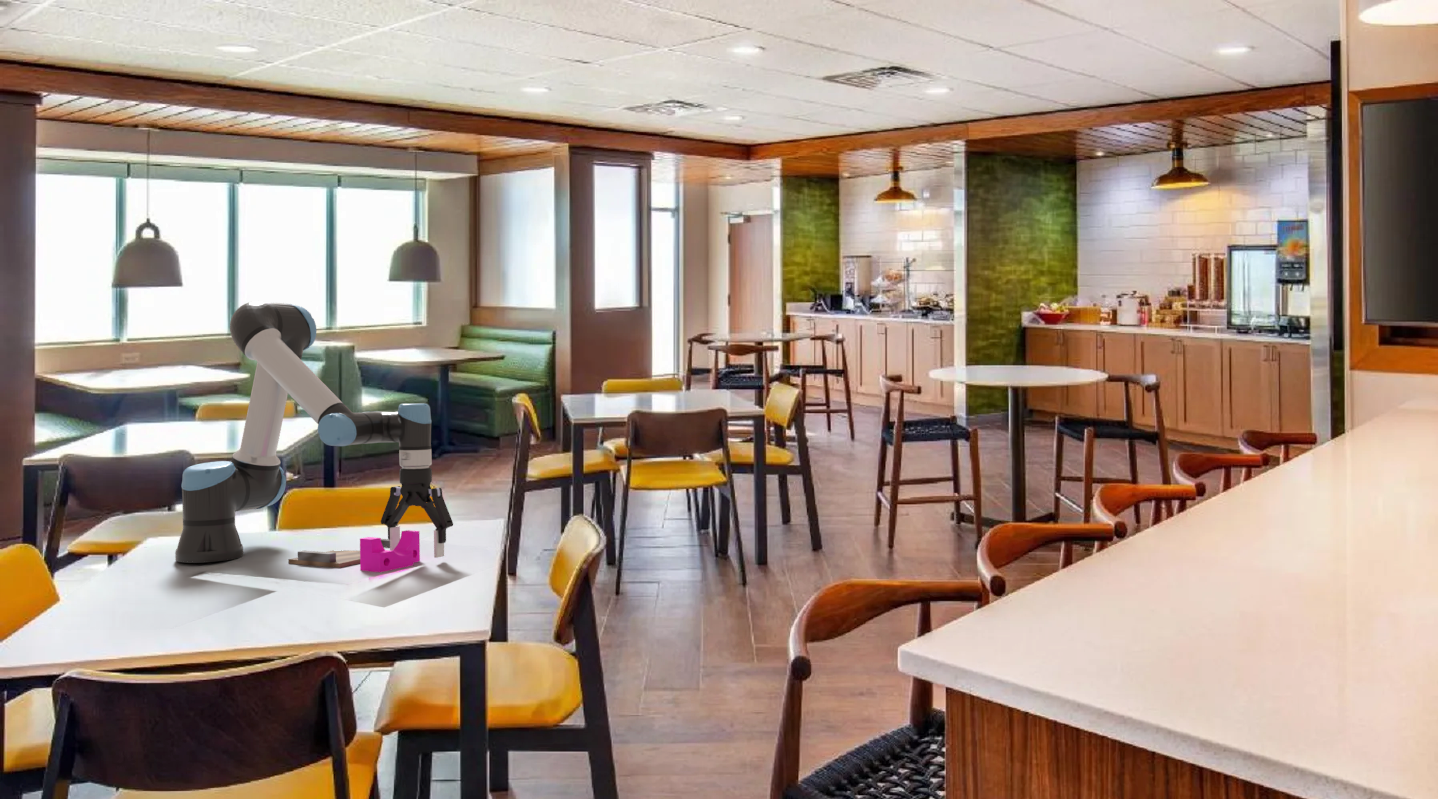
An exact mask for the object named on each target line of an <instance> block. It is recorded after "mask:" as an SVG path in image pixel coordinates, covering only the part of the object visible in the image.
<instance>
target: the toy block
mask: <svg viewBox="0 0 1438 799" xmlns="http://www.w3.org/2000/svg"><path fill="white" fill-rule="evenodd" d="M381 539H382V538H381V537H375V536H374V537H373V536H372V537H371V536H367V537H363V538H362V537H361V538H359V551H360V563H359V565H360V566H359V567H360V568H359V570H360V571H363V572H373V573H383V572H387V571H392V570H397V569H401V568H403V569H404V568H408V567H412V566H414V564H415V563H419V562H418V561H420V562H421V560H420V559H421V558H420V557H421V554H420V553H421V552H420V551H421V548H420V546H421V545H420V540H421V539H420V530H411V529H406V530H401V532H400V541H399V543H398V545H397V546H396V547H395V549H394V550H392V551H390V549H389V550H388V549H387V550H386V549H385V548H384V547H385V546H383V545H382V543H381Z"/></svg>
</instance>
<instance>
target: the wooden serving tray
mask: <svg viewBox="0 0 1438 799" xmlns="http://www.w3.org/2000/svg"><path fill="white" fill-rule="evenodd" d="M381 543H382V545H383V547H385V546H387V547H388V548H390V540H389V539H388V538H381ZM288 564H291V565H303V566H313V567H324V568H325V567H328V568H338V569H341V568H345V567H349V566H350V567H351V566H353V565H360V550H343V551H342V550H341V551H334V550H328V551H315V550H314V551H313V550H299V551H297V557H294V558H289V559H288Z"/></svg>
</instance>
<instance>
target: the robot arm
mask: <svg viewBox="0 0 1438 799" xmlns="http://www.w3.org/2000/svg"><path fill="white" fill-rule="evenodd" d="M229 331H230V336H231V339H232V340H233V343H234V344H235V346H236V347H237V348H238V350H240V352H241V353H242V354H243V355H244V356H245V357H246V358H247V359H249V360H250V361H256V362H257V363H256V368H255V372H254V377H253V383H252V388H251V392H250V393H251V394H250V397H249V403H248V407H247V414H246V418H245V423H244V428H243V432H242V438H241V444H240V449H238V450H237V451H235V452H234V453H232V456H231V460H230V461H226V460H219V461H210V462H202V463H198V464H193V465H191V466H188V467H186V468H185V469H184V470H183V471H182V479H181V480H182V481H181V496H182V499H181V500H182V502H181V503H182V531H181V533H180V537H179V540H178V544H177V548H176V549H175V553H174V554H175V556H174V557H175V561H176V562H177V563H178V562H179V563H188V564H189V563H193V564H195V563H199V564H200V563H213V562H222V561H223V562H225V561H230V560H235V559H239V558H242V557H243V556H244V546H243V544H242V541H241V538H240V535H239V532H238V529H237V528H236V512H242V511H249V510H260V509H263V508H265V507H269V506H272V505H274V504H276V503H277V502H278V501H279V500H280V499H281V497H282V496H283V494H284V492H285V489H286V486H287V477H286V475H284V474H285V470H283V468H282V467H281V460H280V458H279V457H278V456H277V449H278V446H279V440H280V434H281V431H282V425H283V419H284V416H285V410H286V406H287V405H286V404H287V400H288V396H290V397H291V399H293V400H294V401H295V402H296V403H297V404H298V405H299V407H301V408H302V410H304V411H305V413H307V415H308V416H310V417H311V419H312V420H313V421H314V422H315V423H316V424H317V433H318V436H319V439H320V441H321V442H323V443H324V444H325V445H326V446H330V447H331V446H332V447H334V446H336V447H346V446H352V445H363V444H364V445H368V444H377V443H398V448H399V449H398V450H399V451H398V452H399V453H398V455H399V457H398V458H399V466H400V467H401V468H400V469H399V483H400V485H401V486H400V485H397V486H391V487H390V488H389V489H390V491H389V497H388V501H387V502H386V505H385V509H384V511H383V514H382V516H381V519H380V524H381V525H384V526H386V527H387V539H389V540H390V547H389V551H392V550H394V549H395V547H396V546H397V545H398V543H399V541H400V538H401V526H400V525H399V522H400V521H401V519H402V518H403V516H404V515H405V514H406V512H407V510H408V509H409V507H412V506H415V507H421V509H423V510H424V511H425V513H426V515H427V516H428V518H429V520H431V522H432V523H433V525H434V526H435V529H434V530H433V549H434V550H433V557H434V558H441V557H445V543H446V542H447V529H448V528H450V527H453V526H454V522H453V520H452V517H451V515H450V512H449V510H448V507H447V504H446V502H445V498H444V497H443V489H442V487H434V488H432V487H431V483H432V481H433V476H432V475H433V472H432V471H433V470H432V468H431V467H430V466H432V465H433V461H432V458H433V457H432V454H433V453H432V444H431V443H432V422H433V421H432V416H431V406H430V404H428V403H423V402H422V403H421V402H420V403H400V404H399V405H398V409H397V411H378V410H375V411H374V410H372V411H371V410H368V411H363V412H353V411H351V409H349V407H348V406H347V405H346V404H344V402H342V401H341V400H340V398H339V397H338V396H337V395H336V394H335V393H334V392H333V391H331V389H330V388H329V387H328V386H327V385H326V384H325V383H324V382H323V381H322V380H321V379H320V378H319V377H318V376H317V375H316V374H315V373H314V372H313V370H312V369H310V367H308V366H307V365H306V364H305V363H304V362H303V361H302V359H303V358H302V357H303V353H304V351H306V350H307V349H309V348H311V346H313V344H314V342H315V340H316V337H317V325H316V322H315V319H314V318H313V316H312V314H311V312H309V311H308V309H306V308H304V307H303V306H300V305H296V304H291V303H286V302H285V303H284V302H283V303H282V302H266V301H259V300H258V301H249V302H247V303H244V304H242V305H241V306H240V307H238V308H237V309H236V310H235V312H234V313H233V314H232V316H231V319H230V323H229ZM401 496H402V497H401Z"/></svg>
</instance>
